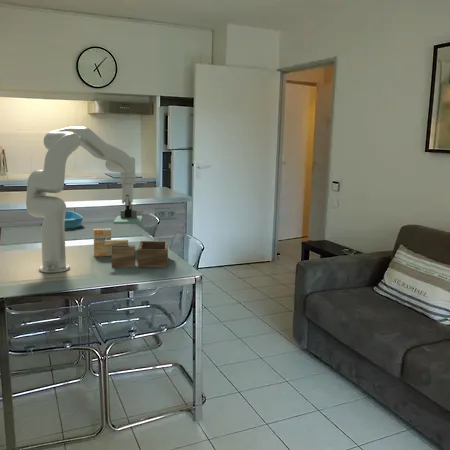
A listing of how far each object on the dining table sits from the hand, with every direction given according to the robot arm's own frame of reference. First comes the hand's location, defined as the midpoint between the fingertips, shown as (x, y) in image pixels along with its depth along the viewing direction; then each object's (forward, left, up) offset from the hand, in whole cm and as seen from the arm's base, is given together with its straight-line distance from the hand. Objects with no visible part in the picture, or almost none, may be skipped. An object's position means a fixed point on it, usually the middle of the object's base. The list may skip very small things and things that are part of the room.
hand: (128, 216), depth 252 cm
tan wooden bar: (-38, +2, -7) cm, 39 cm away
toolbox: (-31, -8, -17) cm, 36 cm away
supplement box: (-17, +11, -17) cm, 26 cm away
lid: (-2, 0, -2) cm, 3 cm away
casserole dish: (+66, +48, -17) cm, 84 cm away
